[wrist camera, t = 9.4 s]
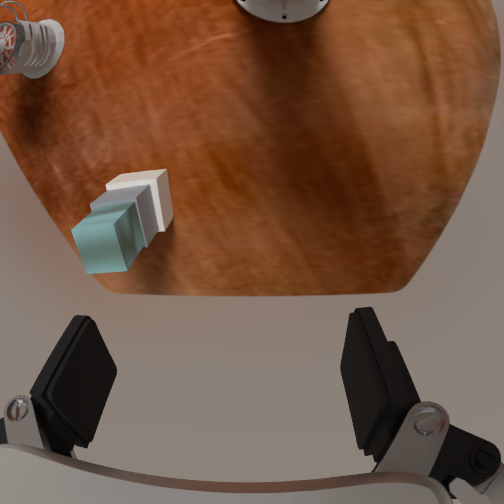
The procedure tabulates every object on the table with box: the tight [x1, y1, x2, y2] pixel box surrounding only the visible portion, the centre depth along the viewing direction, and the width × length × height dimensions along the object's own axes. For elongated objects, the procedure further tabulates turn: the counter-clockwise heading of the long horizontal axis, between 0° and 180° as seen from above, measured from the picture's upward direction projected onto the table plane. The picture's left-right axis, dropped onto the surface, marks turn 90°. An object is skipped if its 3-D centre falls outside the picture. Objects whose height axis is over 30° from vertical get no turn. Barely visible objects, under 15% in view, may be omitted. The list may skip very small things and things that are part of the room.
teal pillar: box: [71, 202, 145, 274], centre depth 30 cm, size 5×5×6 cm
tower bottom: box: [106, 169, 174, 232], centre depth 39 cm, size 7×7×5 cm
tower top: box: [90, 184, 159, 248], centre depth 35 cm, size 6×6×5 cm
